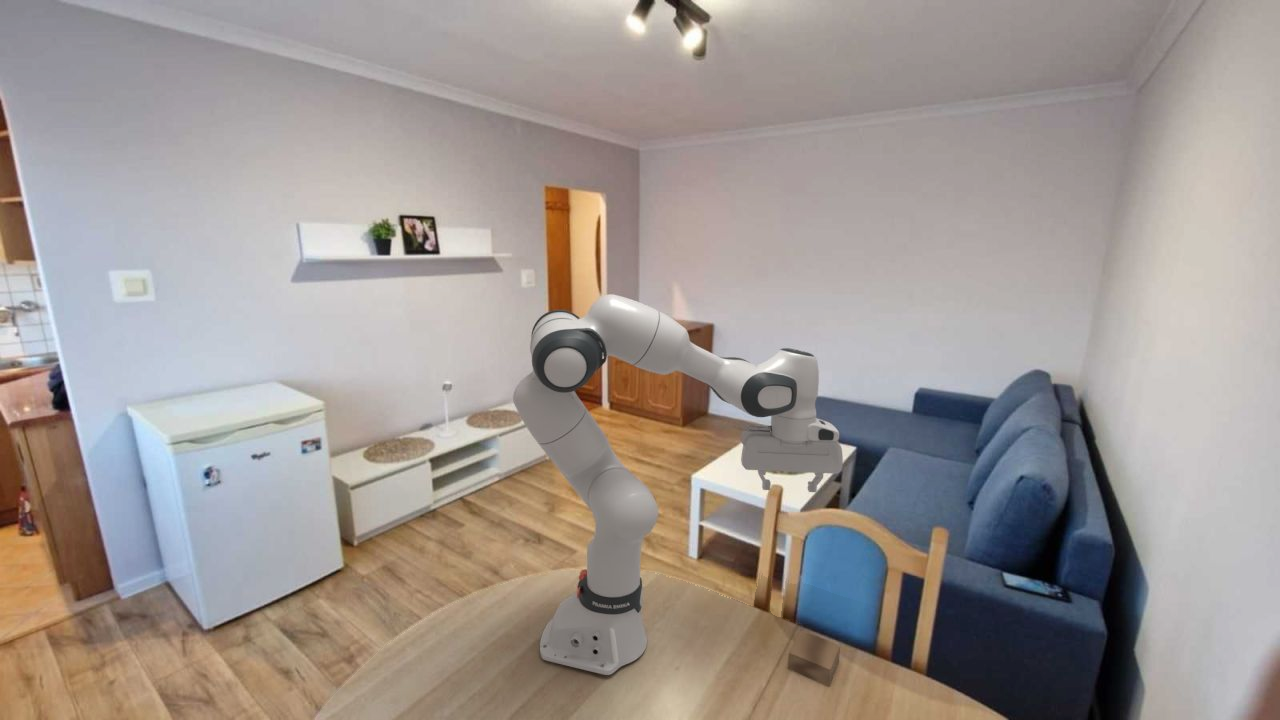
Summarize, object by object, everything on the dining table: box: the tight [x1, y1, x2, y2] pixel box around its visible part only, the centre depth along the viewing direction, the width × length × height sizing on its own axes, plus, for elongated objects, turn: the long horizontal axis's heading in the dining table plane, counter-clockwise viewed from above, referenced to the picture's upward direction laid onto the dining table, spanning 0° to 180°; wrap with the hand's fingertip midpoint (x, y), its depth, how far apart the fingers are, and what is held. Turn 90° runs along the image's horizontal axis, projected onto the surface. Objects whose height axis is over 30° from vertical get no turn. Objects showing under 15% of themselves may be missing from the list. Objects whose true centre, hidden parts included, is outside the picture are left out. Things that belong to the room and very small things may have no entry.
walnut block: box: [787, 629, 841, 687], centre depth 106 cm, size 8×8×4 cm
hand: (788, 490), depth 110 cm, fingers open, 8 cm apart
